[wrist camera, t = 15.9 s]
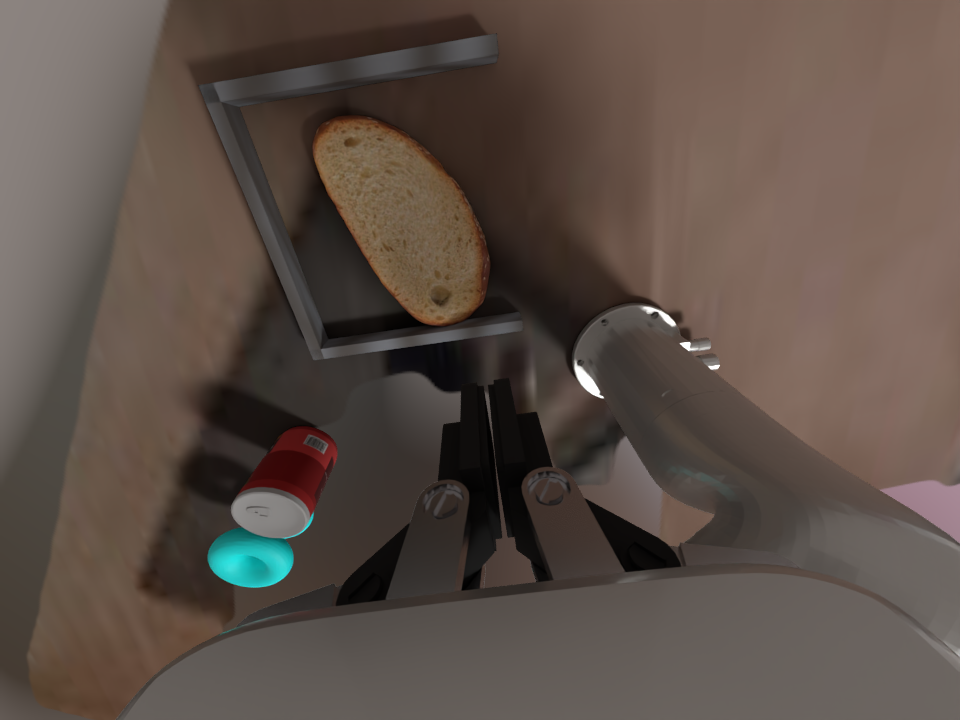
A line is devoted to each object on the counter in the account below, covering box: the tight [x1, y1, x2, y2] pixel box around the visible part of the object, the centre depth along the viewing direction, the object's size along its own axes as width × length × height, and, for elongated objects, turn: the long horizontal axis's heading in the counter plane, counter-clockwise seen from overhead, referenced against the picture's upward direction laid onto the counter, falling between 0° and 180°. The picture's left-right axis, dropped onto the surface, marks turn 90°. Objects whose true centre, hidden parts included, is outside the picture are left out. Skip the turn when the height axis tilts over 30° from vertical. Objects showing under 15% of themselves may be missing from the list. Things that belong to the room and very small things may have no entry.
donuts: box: [208, 512, 314, 587], centre depth 48 cm, size 10×10×10 cm
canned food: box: [231, 426, 337, 538], centre depth 43 cm, size 8×8×11 cm
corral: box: [198, 33, 523, 360], centre depth 34 cm, size 23×24×2 cm
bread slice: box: [312, 115, 490, 326], centre depth 34 cm, size 18×18×4 cm
